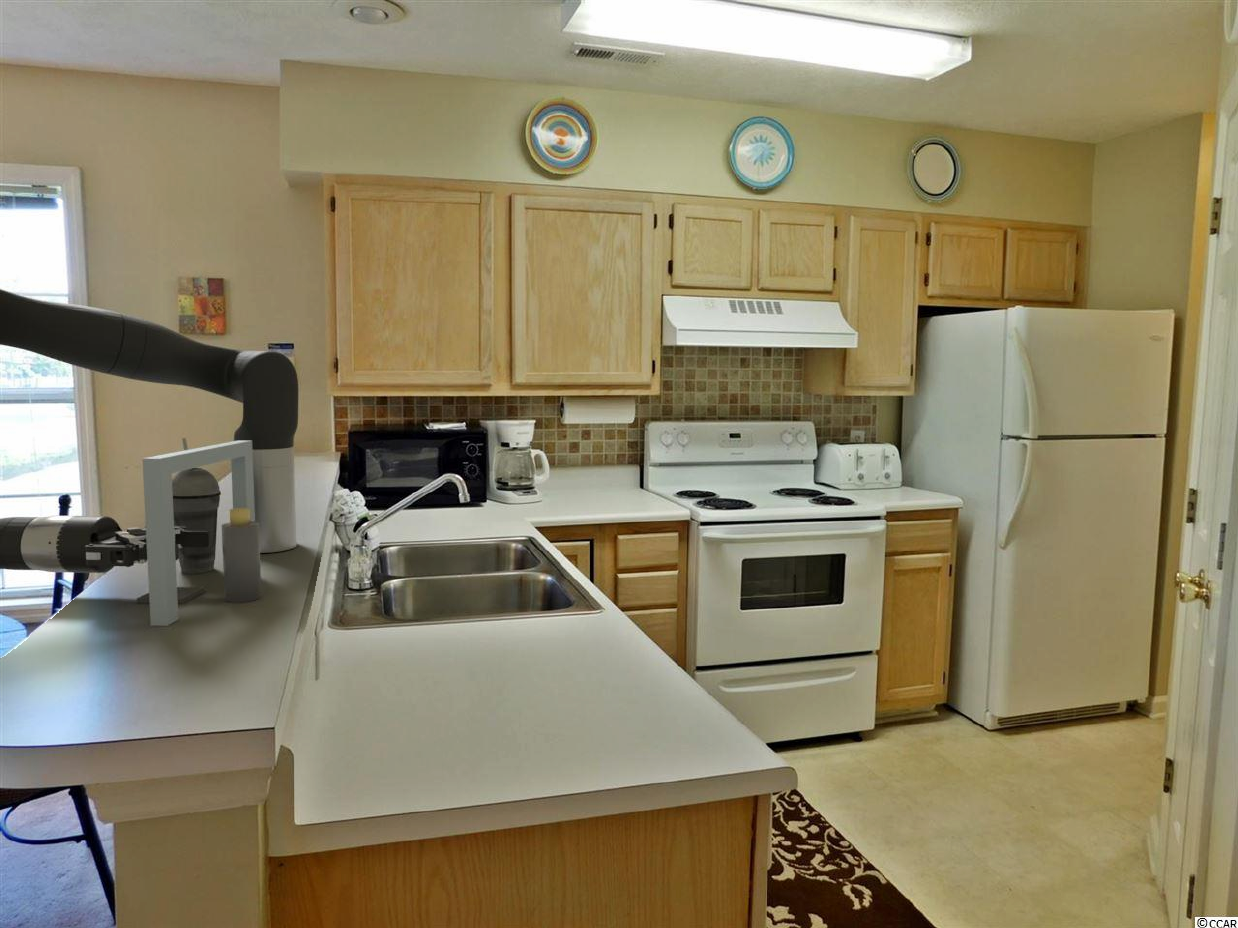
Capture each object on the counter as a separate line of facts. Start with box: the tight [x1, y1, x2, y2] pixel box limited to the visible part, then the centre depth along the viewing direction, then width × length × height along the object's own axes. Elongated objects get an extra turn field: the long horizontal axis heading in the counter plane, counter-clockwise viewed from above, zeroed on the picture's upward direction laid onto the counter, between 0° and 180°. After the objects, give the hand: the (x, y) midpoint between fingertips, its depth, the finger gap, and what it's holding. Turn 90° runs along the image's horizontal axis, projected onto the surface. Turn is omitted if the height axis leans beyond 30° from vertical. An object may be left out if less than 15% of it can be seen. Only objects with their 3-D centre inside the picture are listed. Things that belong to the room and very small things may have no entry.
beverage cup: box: [172, 437, 222, 575], centre depth 127 cm, size 7×7×20 cm
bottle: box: [221, 508, 262, 604], centre depth 113 cm, size 4×4×12 cm
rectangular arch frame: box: [142, 440, 255, 627], centre depth 113 cm, size 25×2×20 cm, turn 0°
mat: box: [136, 586, 206, 604], centre depth 114 cm, size 6×6×1 cm
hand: (194, 545), depth 113 cm, fingers open, 8 cm apart
